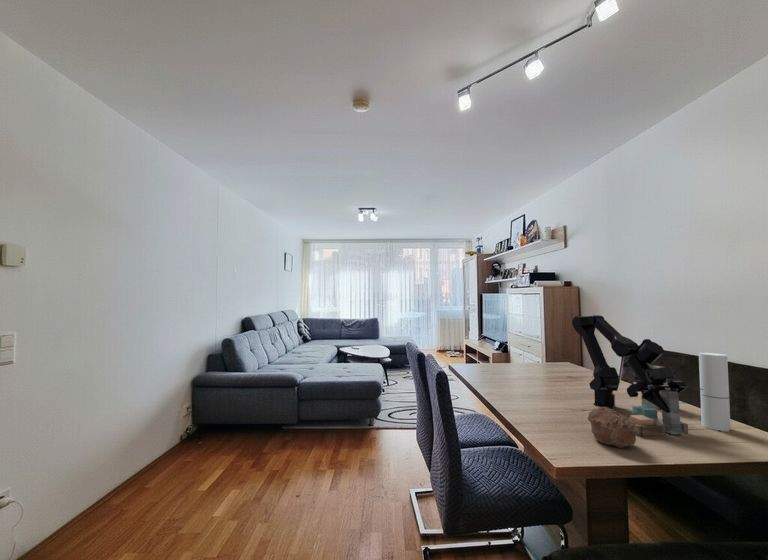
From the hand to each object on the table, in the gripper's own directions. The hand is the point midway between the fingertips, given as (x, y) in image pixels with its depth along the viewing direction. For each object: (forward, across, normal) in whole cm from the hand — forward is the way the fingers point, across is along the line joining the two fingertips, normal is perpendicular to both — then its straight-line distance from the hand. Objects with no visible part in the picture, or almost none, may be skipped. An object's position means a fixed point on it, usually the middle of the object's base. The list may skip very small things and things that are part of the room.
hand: (673, 412), depth 110 cm
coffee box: (-15, +21, +25) cm, 36 cm away
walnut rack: (+3, -4, +7) cm, 9 cm away
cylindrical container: (+2, +20, +8) cm, 22 cm away
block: (+2, -8, +8) cm, 12 cm away
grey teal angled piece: (0, 0, +9) cm, 9 cm away
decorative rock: (+8, -25, +2) cm, 27 cm away
